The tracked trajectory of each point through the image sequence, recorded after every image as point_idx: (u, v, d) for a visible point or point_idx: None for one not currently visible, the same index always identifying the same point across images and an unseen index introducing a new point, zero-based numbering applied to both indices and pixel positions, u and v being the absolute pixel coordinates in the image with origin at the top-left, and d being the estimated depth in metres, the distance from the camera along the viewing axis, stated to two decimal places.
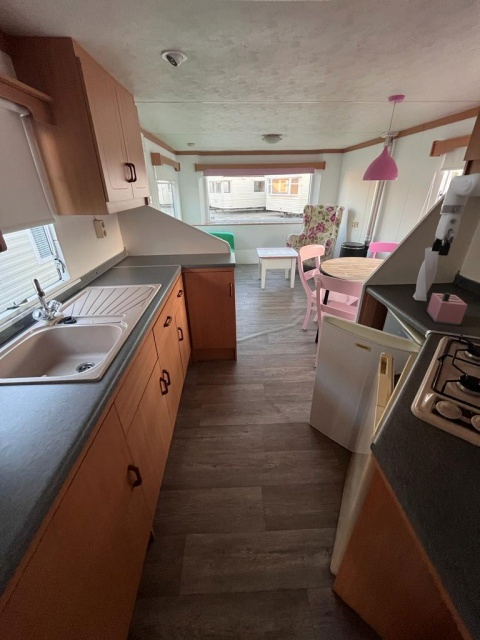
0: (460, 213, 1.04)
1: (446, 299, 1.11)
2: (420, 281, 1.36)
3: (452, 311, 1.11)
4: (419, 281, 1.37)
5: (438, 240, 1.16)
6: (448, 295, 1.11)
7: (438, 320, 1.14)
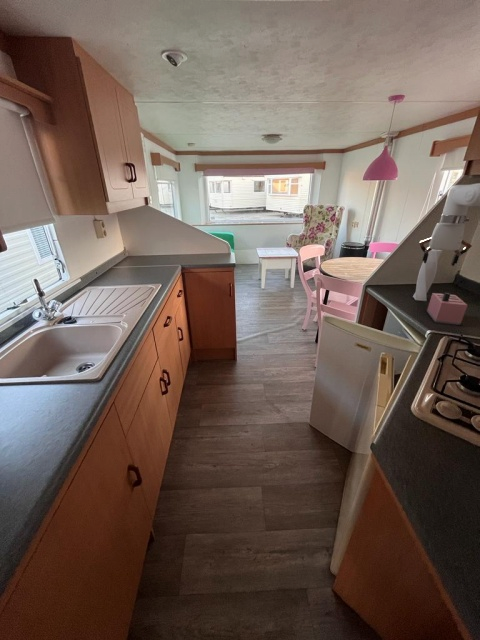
0: None
1: (446, 299, 1.11)
2: (420, 281, 1.36)
3: (452, 311, 1.11)
4: (419, 281, 1.37)
5: (427, 251, 1.11)
6: (448, 295, 1.11)
7: (438, 320, 1.14)
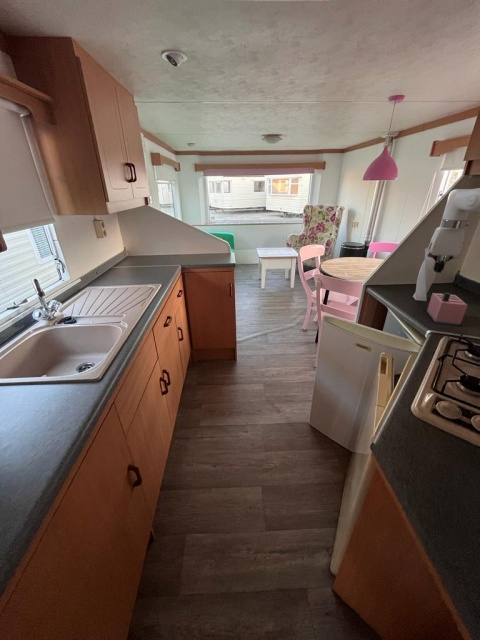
0: None
1: (446, 299, 1.11)
2: (420, 281, 1.36)
3: (452, 311, 1.11)
4: (419, 281, 1.37)
5: None
6: (448, 295, 1.11)
7: (438, 320, 1.14)
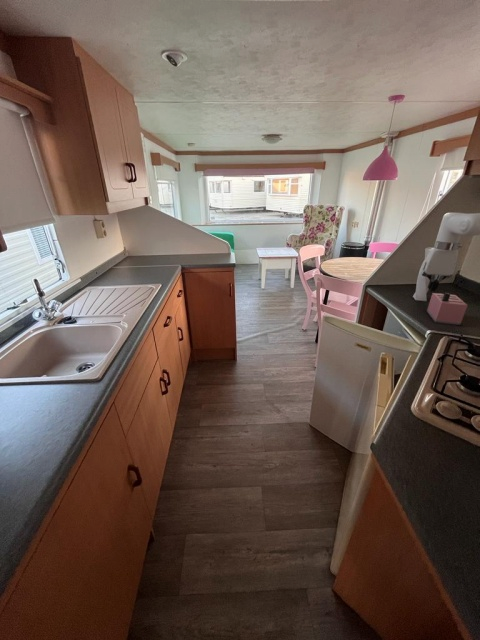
0: None
1: (446, 299, 1.11)
2: (420, 281, 1.36)
3: (452, 311, 1.11)
4: (419, 281, 1.37)
5: None
6: (448, 295, 1.11)
7: (438, 320, 1.14)
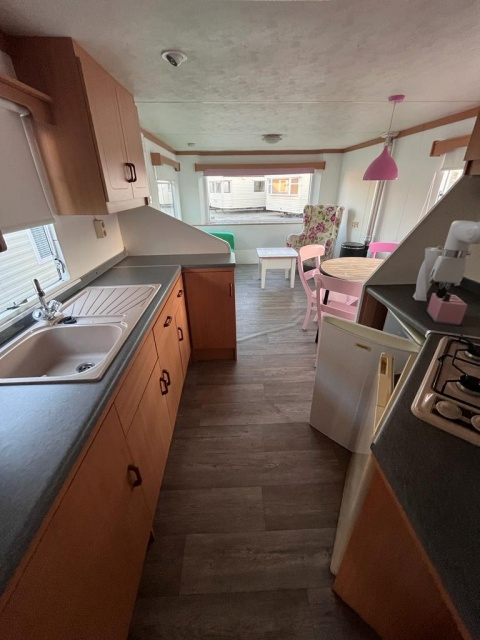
0: None
1: (447, 299, 1.11)
2: (420, 281, 1.36)
3: (452, 311, 1.11)
4: (419, 281, 1.37)
5: (441, 286, 1.11)
6: (449, 295, 1.10)
7: (438, 320, 1.14)
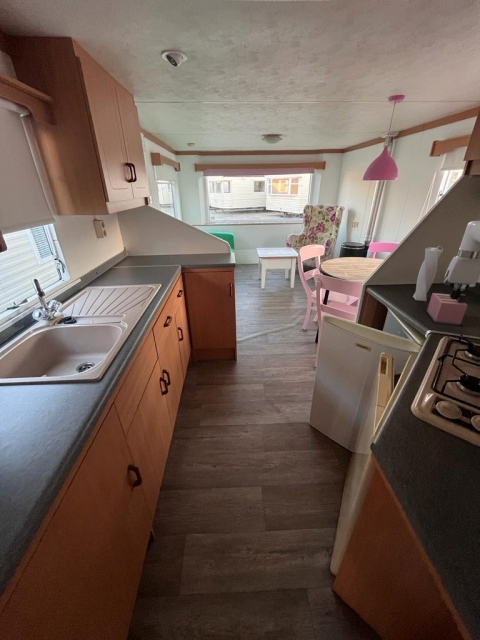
0: None
1: (461, 300, 1.10)
2: (420, 281, 1.36)
3: (452, 311, 1.11)
4: (419, 281, 1.37)
5: None
6: (464, 296, 1.09)
7: (438, 320, 1.14)
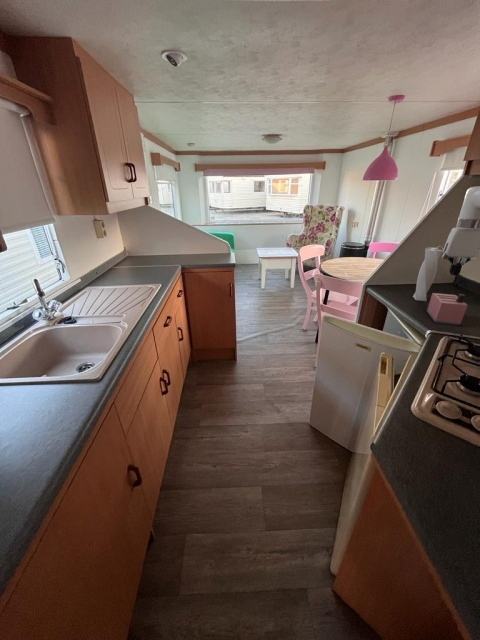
0: None
1: (460, 300, 1.10)
2: (420, 281, 1.36)
3: (452, 311, 1.11)
4: (419, 281, 1.37)
5: None
6: (463, 296, 1.09)
7: (438, 320, 1.14)
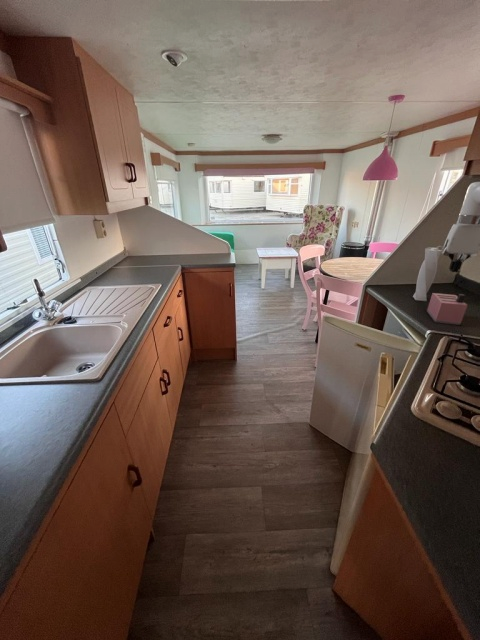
0: None
1: (460, 300, 1.10)
2: (420, 281, 1.36)
3: (452, 311, 1.11)
4: (419, 281, 1.37)
5: None
6: (463, 296, 1.09)
7: (438, 320, 1.14)
